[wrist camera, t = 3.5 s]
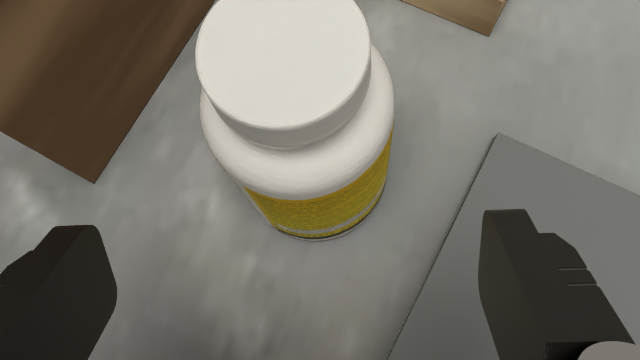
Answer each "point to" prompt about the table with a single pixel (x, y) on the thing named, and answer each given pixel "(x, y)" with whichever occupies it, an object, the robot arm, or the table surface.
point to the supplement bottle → (297, 110)
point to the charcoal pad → (548, 217)
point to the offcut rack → (112, 67)
